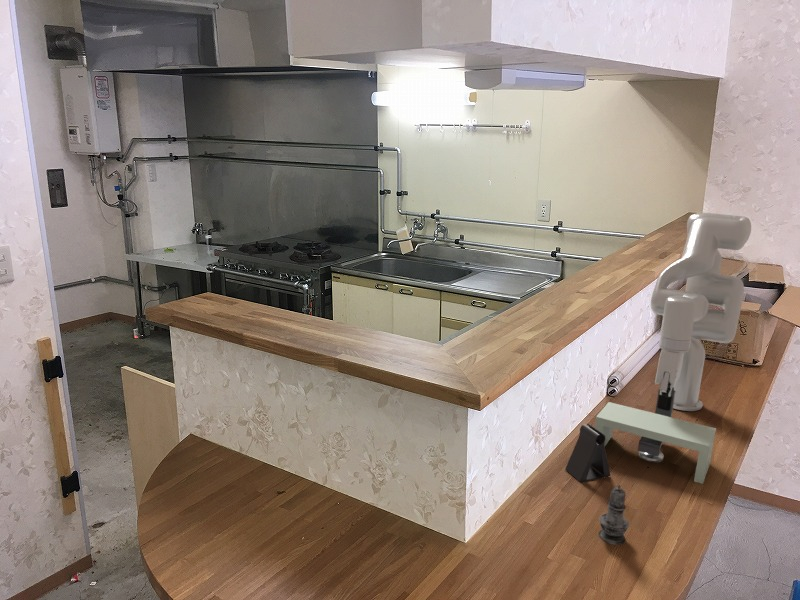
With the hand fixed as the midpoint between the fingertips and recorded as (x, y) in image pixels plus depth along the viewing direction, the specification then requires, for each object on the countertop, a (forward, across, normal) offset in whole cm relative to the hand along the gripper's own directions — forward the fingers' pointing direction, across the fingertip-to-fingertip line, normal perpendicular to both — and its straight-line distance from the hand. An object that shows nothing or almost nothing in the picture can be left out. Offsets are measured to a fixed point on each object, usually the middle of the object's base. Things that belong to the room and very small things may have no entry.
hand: (664, 407), depth 175 cm
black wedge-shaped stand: (+10, +30, -11) cm, 33 cm away
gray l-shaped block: (+7, +8, 0) cm, 10 cm away
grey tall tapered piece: (+10, +53, +1) cm, 54 cm away
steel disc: (+11, +11, 0) cm, 15 cm away
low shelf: (+10, +12, 0) cm, 15 cm away
